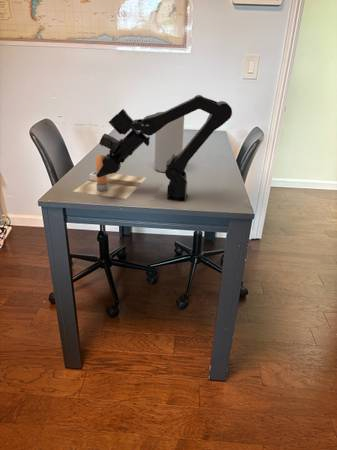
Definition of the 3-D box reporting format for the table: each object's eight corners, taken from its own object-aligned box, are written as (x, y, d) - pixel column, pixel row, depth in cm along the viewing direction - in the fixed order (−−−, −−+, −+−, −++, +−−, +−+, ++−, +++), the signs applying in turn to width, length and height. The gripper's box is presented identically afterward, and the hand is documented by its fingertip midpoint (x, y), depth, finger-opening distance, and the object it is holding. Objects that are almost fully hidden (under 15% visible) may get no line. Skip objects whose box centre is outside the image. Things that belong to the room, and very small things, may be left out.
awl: (109, 188, 128) (107, 155, 123) (104, 192, 125) (103, 158, 119) (99, 187, 129) (97, 154, 123) (95, 191, 126) (92, 157, 120)
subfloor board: (146, 181, 142) (146, 177, 141) (126, 202, 121) (126, 198, 120) (100, 175, 146) (100, 171, 145) (73, 195, 125) (72, 191, 125)
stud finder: (107, 178, 138) (107, 172, 137) (103, 181, 135) (103, 175, 133) (94, 177, 139) (93, 171, 138) (89, 180, 136) (89, 174, 135)
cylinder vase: (150, 166, 160) (151, 111, 149) (174, 164, 165) (177, 111, 153) (160, 174, 150) (161, 116, 139) (185, 172, 155) (189, 116, 143)
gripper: (117, 122, 125) (90, 149, 130) (107, 132, 108) (76, 164, 113) (138, 144, 128) (110, 170, 133) (132, 157, 111) (100, 187, 117)
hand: (100, 172), depth 124 cm, fingers open, 9 cm apart
